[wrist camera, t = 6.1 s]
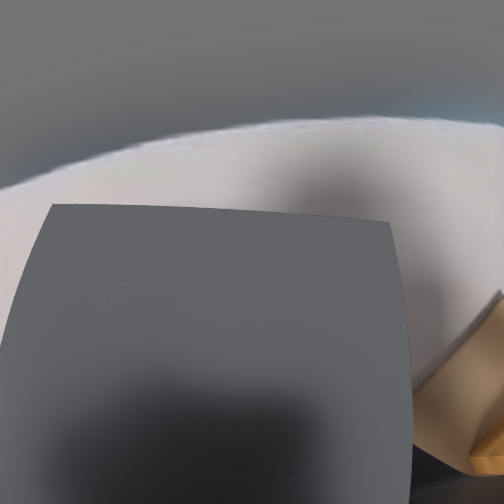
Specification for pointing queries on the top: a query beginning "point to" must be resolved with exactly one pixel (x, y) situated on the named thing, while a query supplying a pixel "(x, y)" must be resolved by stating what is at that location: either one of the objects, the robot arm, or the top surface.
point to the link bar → (206, 361)
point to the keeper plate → (466, 403)
